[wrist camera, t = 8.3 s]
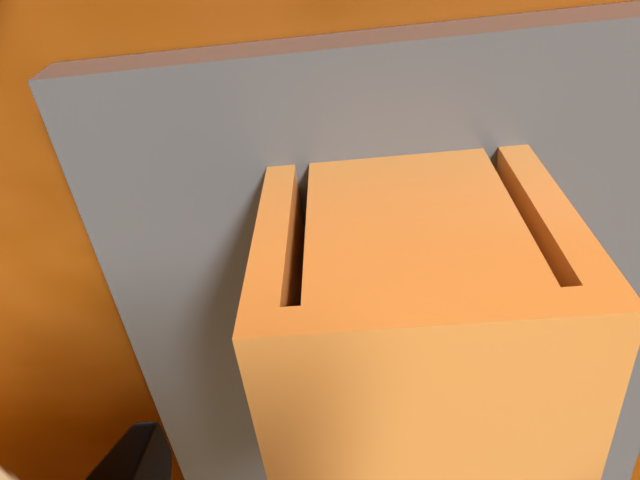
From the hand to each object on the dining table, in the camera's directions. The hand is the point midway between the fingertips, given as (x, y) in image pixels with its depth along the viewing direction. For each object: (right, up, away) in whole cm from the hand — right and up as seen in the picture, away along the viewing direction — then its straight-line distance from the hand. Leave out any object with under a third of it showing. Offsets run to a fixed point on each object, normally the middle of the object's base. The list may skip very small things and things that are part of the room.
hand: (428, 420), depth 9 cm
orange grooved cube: (0, +2, +4) cm, 5 cm away
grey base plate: (+1, -1, +8) cm, 8 cm away
